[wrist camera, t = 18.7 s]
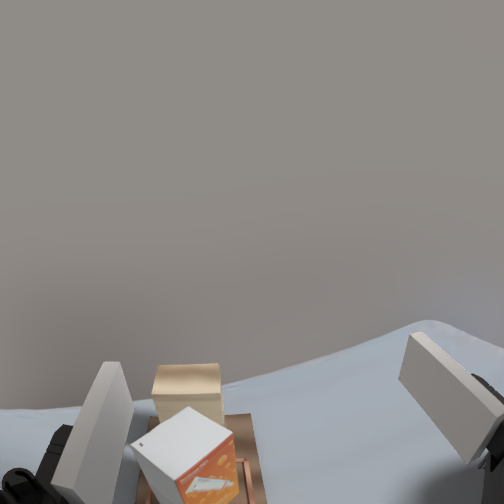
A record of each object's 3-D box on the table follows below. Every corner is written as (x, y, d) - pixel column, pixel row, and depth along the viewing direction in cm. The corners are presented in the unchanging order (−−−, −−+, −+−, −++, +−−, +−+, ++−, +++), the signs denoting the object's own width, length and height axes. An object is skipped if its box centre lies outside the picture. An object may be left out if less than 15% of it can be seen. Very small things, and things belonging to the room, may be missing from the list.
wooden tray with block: (275, 549, 20) (281, 508, 17) (132, 549, 19) (86, 502, 15) (250, 417, 43) (247, 352, 40) (151, 420, 42) (133, 356, 38)
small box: (197, 532, 22) (173, 482, 18) (158, 503, 25) (127, 443, 22) (241, 492, 28) (234, 430, 25) (202, 469, 32) (186, 403, 28)
